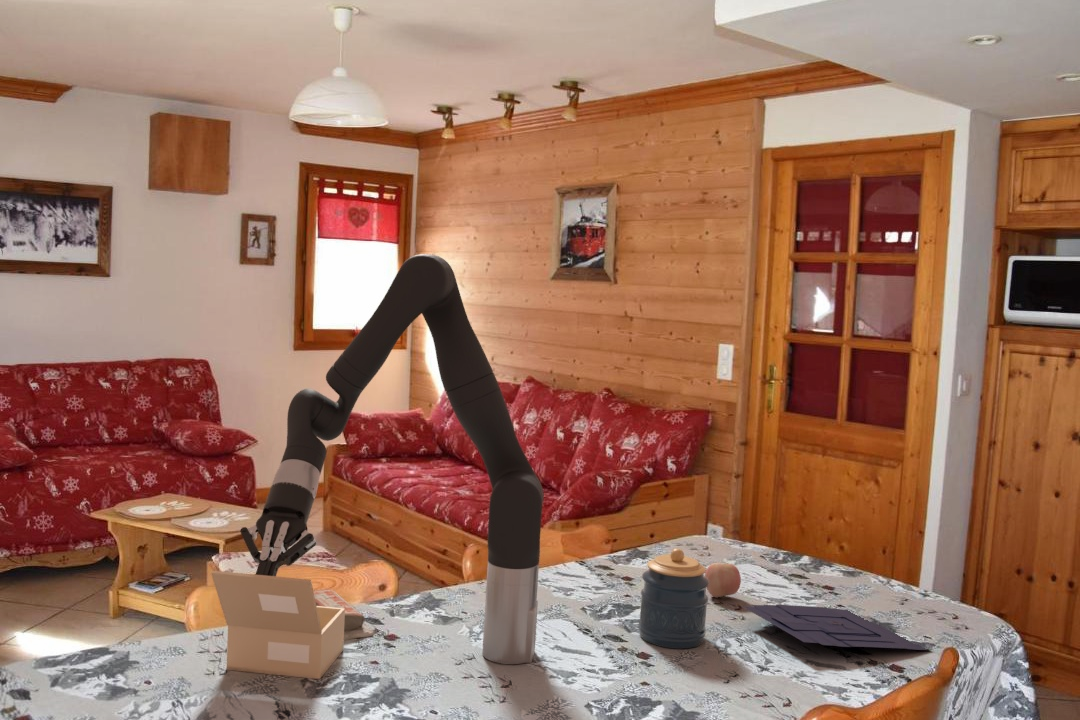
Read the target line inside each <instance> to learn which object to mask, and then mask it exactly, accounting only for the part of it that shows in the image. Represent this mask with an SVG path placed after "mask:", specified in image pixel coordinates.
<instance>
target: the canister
mask: <svg viewBox="0 0 1080 720" xmlns="http://www.w3.org/2000/svg"><path fill="white" fill-rule="evenodd" d="M646 567H648V569H647V570H645V571H643V573H642V575H641V578H642V580H643V581H644V584H643V587H642V589H641V590H640V594H641V599H640V616H639V621H638V629H639V636H640V638H642V640H644V641H646V642H647V643H650V644H652V645H655V646H659V647H664V648H668V649H669V648H671V649H691V648H695V647H699V646H700V645H702V644H703V643H704V640H705V636H706V630H707V629H706V619H707V618H706V617H707V606H708V602H709V598H708V595H707V588H706V587H707V586H708V585H709V580H708V579H707V578H706V577H705V572H706V570H707V568H706V567H705V566H704V565H703V564H701V563H700V562H699V561H698V560H697V559H695V558H692V557H690V556H687V555H685V553H684V550H682V549H681V548H674V549H672V550H671V552H670V554H661V555H658V556H656V557H654V559H651V560H649V561H647V566H646Z"/></svg>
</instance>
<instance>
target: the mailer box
mask: <svg viewBox="0 0 1080 720" xmlns="http://www.w3.org/2000/svg"><path fill="white" fill-rule="evenodd" d="M317 611H318V616H319V620H320V625H321V630H322V633H321V634H311V633H301V632H291V631H280V630H270V629H260V628H249V627H239V626H228V625H227V642H226V643H227V647H226V649H227V650H226V668H225V669H227V671H234V672H235V671H237V672H245V673H247V672H248V673H255V674H256V673H257V674H258V673H259V674H267V675H277V676H284V677H285V676H286V677H296V678H306V679H307V678H308V679H316V680H320V679H322V677H323V676H324V675H325V673H326V672H327V671H328V670H329V669H330V667H331V666H332V665H333V664H334V662H335V661H336V660H337V658H338V657H339V656H340V655H341V654H342V652H343V651H344V642H345V640H344V621H345V608H334V607H324V606H317Z"/></svg>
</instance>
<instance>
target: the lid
mask: <svg viewBox="0 0 1080 720" xmlns="http://www.w3.org/2000/svg"><path fill="white" fill-rule="evenodd" d="M255 574H256V573H255ZM255 574H251V573H245V572H244V573H242V572H232V571H231V572H230V571H221V570H220V571H219V570H212V571H211V573H210V575H211V576H212V581H213V583H214V584H213V585H214V587H215V590H216V594H217V597H218V600H219V604H220V607H221V610H222V613H223V618H224V620H225V623H226V626H227V627H228V626H239V627H249V628H260V629H270V630H280V631H291V632H301V633H311V634H321V633H322V630H321V625H320V620H319V616H318V611H317V606H316V602H315V597H314V592H313V590H314V588H313V583H312V579H307V578H297V577H296V578H295V577H286V576H277V575H276V576H266V575H255Z"/></svg>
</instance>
